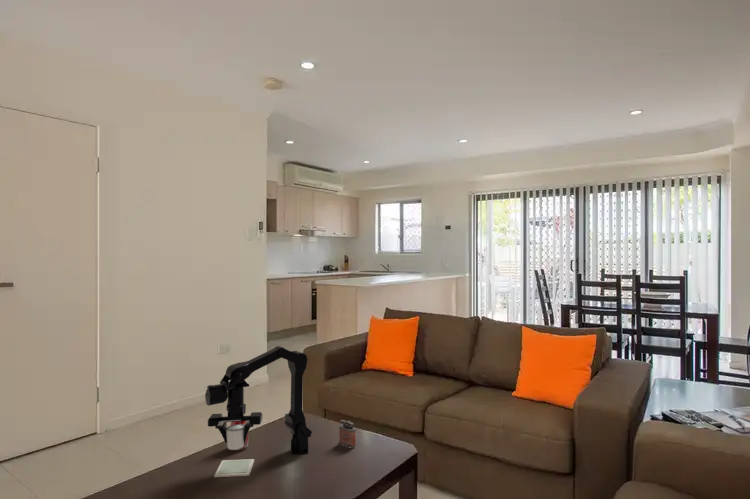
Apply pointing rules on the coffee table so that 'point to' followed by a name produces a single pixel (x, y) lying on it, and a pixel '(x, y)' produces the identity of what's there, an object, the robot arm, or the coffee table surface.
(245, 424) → the soda can
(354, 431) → the lighter
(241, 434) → the white-topped cylinder
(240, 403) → the robot arm
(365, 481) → the coffee table surface
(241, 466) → the plate
